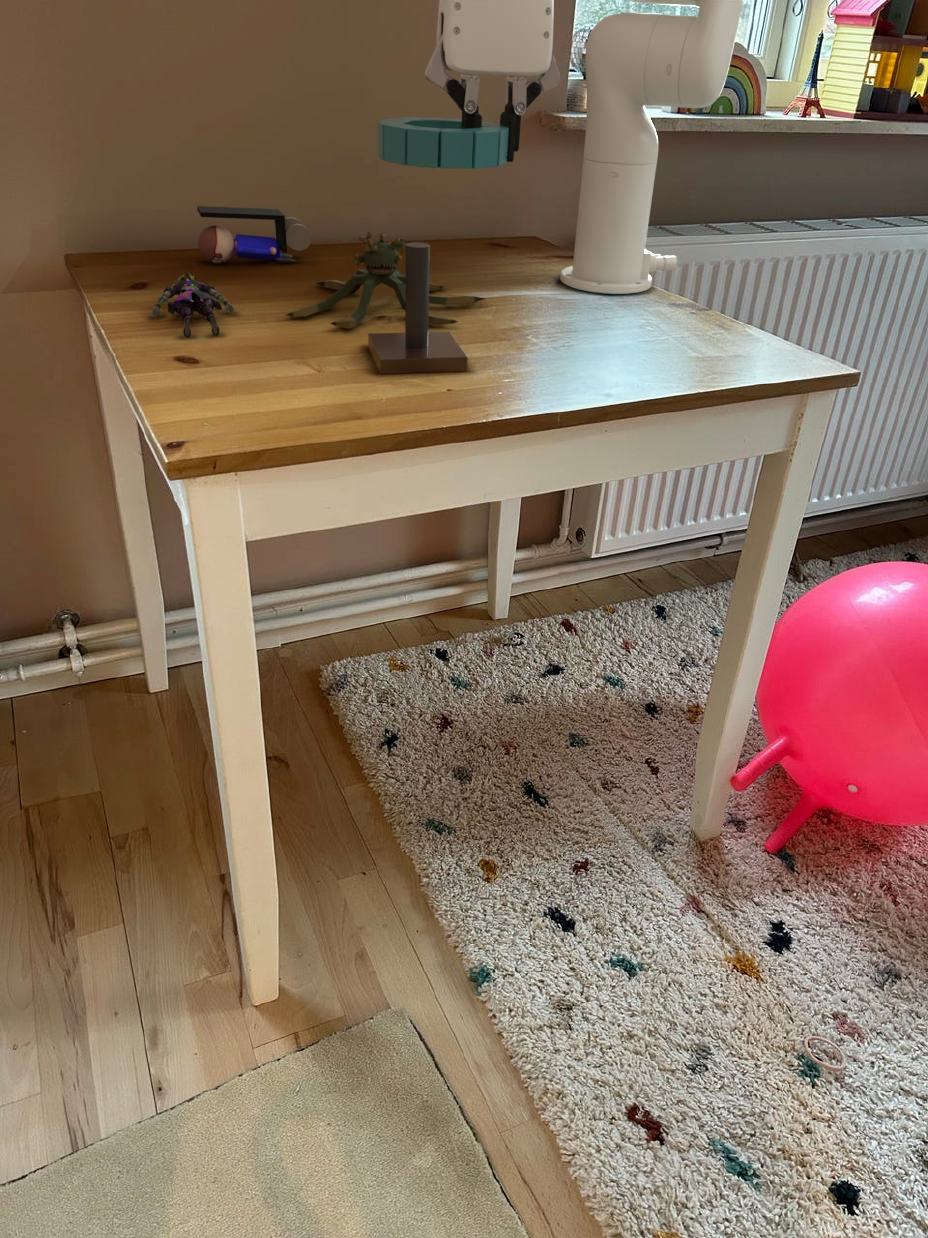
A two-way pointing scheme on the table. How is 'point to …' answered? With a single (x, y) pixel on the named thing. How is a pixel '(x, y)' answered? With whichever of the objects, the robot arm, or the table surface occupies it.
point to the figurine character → (221, 244)
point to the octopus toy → (378, 270)
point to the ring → (441, 143)
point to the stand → (416, 328)
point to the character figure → (192, 302)
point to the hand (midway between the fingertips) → (489, 157)
